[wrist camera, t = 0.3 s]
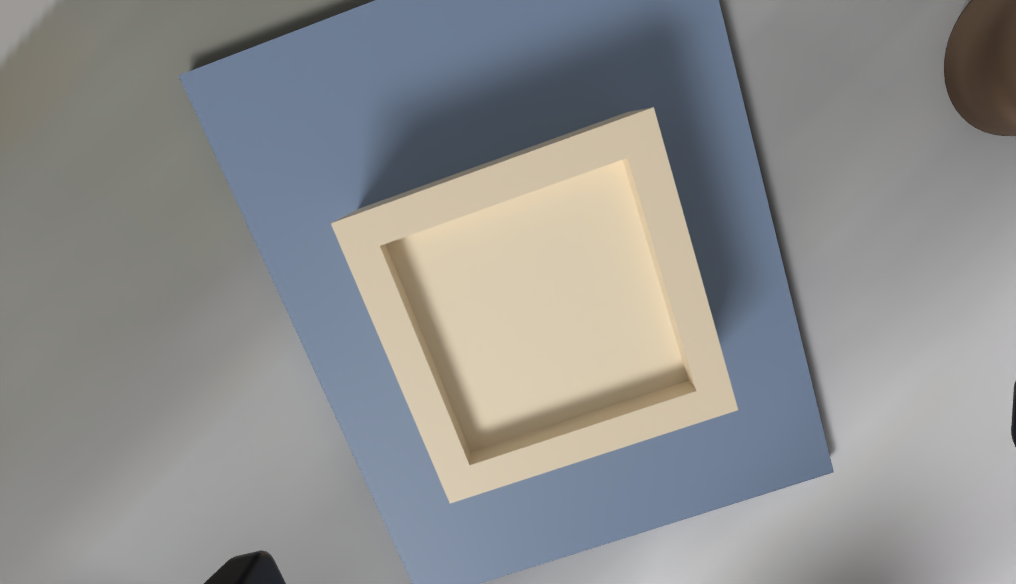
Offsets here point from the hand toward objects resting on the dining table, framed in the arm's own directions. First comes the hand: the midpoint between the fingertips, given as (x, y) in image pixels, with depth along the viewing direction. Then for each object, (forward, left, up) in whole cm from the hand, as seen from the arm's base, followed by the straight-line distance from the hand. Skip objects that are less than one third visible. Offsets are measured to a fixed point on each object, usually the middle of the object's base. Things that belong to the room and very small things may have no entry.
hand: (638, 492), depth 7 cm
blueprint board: (-1, +1, -14) cm, 14 cm away
